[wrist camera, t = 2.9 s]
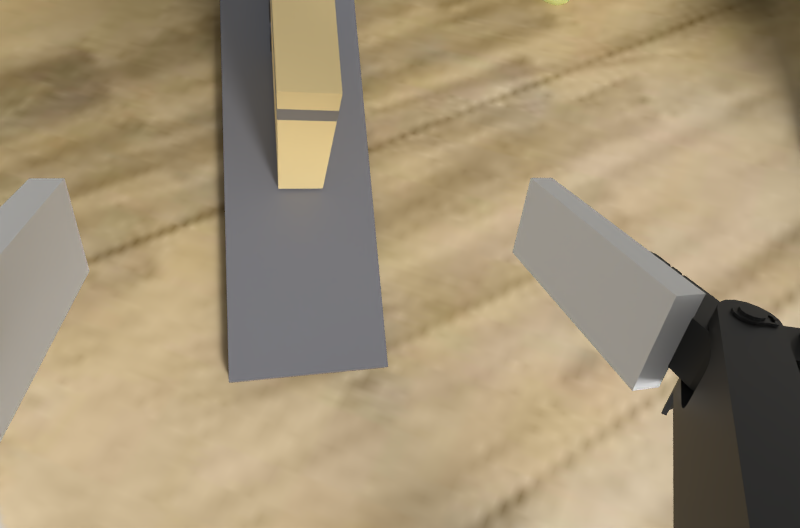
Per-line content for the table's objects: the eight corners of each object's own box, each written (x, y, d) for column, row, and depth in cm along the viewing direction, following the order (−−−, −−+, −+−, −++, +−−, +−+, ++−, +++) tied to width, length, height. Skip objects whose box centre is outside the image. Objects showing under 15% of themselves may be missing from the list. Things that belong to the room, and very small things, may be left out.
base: (220, -78, 39) (217, -96, 38) (344, -64, 42) (346, -79, 40) (231, 382, 32) (229, 382, 30) (383, 367, 34) (387, 366, 33)
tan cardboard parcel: (271, 58, 36) (267, -89, 25) (314, 61, 36) (328, -81, 25) (277, 189, 33) (276, 91, 22) (323, 188, 34) (343, 94, 23)
